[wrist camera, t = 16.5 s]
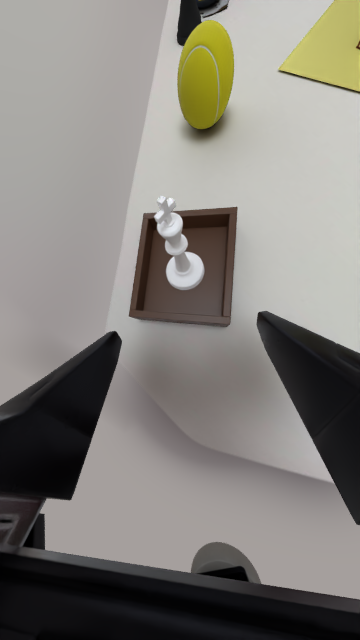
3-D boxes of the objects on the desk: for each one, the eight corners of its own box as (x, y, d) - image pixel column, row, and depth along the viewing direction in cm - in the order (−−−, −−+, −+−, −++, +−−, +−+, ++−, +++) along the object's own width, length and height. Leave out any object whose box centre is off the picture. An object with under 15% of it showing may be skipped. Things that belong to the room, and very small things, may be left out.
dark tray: (226, 326, 18) (230, 324, 15) (138, 319, 20) (128, 316, 17) (233, 224, 19) (237, 206, 17) (151, 228, 21) (143, 213, 19)
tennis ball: (221, 143, 21) (228, 50, 14) (176, 142, 23) (163, 57, 16) (235, 103, 22) (247, -6, 15) (190, 104, 23) (183, 5, 16)
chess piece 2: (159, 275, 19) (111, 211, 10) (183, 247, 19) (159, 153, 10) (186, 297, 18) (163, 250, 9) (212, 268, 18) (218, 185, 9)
